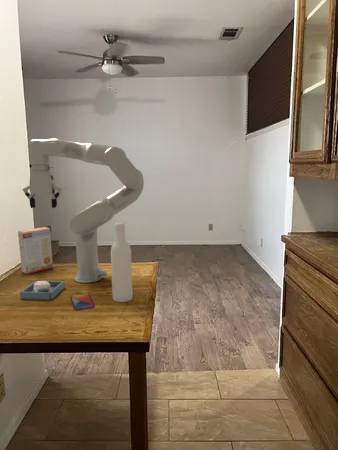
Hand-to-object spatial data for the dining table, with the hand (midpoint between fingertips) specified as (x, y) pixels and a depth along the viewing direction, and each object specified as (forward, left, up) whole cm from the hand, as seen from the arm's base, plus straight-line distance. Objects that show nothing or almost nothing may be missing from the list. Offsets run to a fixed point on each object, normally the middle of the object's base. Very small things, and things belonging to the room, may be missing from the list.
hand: (43, 207), depth 157 cm
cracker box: (+12, -14, -34) cm, 38 cm away
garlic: (-5, +19, -32) cm, 37 cm away
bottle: (-39, +21, -34) cm, 56 cm away
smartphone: (-24, +25, -34) cm, 49 cm away
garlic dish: (-5, +17, -33) cm, 38 cm away
